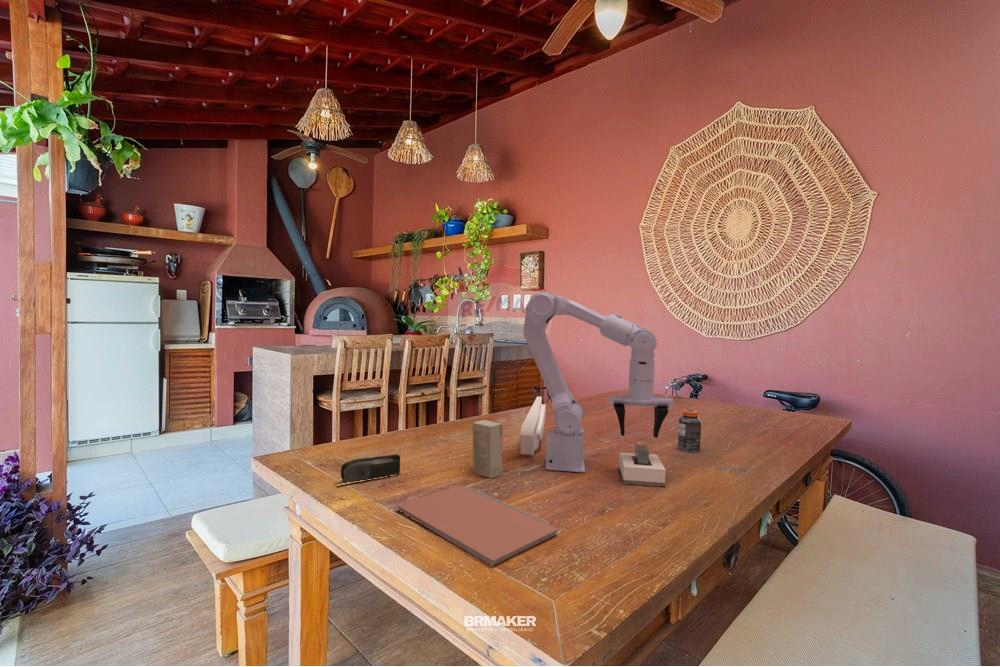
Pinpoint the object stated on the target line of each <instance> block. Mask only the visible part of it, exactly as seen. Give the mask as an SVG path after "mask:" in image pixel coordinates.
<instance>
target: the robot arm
mask: <svg viewBox="0 0 1000 667" xmlns="http://www.w3.org/2000/svg"><path fill="white" fill-rule="evenodd" d="M529 298H530V299H529V301H528V302H527V304H526V306H525V317H524V323H523V329H522V331H523V337H524V339H525V341H526V343H527V346H528V348H529V350H530V352H531V355H532V358H533V360H534V363H535V364H536V366H537V369H538V371H539V373H540V374H539V375H541V378H542V380H543V383H544V385H545V387H546V389H547V393H548V394H549V397H550V400H551V407H552V410H553V413H554V424H555V428H554V429H553V430H552V429H551V430H550V429H549V430H546V440H545V441H546V442H545V444H546V445H545V452H544V461H545V466H544V467H545V470H547V471H558V472H560V471H563V472H573V473H575V472H576V473H585V472H586V468H585V467H586V466H585V461H584V446H585V445H584V444H585V442H584V441H585V440H584V439H585V438H584V436H585V429H584V428H583V427H582V425H581V424H582V421H583V420H584V417H585V411H584V408H583V407H582V405H581V404H580V403H579V402H577V401H576V399H575V397H574V395H573V394H572V392H571V391H570V390H569V387H568V385H567V383H566V380H565V378H564V375H563V373H562V371H561V369H560V366H559V365H558V362H557V359H556V356H555V355H554V353H553V350H552V348H551V346H550V343H549V340H548V338H547V336H546V330H547V328H548V325H549V323H550V321H551V320H552V318H553V317H555V316H567V315H568V316H570V317H573V318H576V319H577V320H580V321H582V322H585V323H587V324H588V325H589V324H590V325H591V326H594V327H596V328H598V329H599V332H600V335H601V336H602V337H605V338H607V339H609V340H611V341H613V342H615V343H617V344H620V345H621V346H624V347H630V348H631V352H630V353H631V354H630V359H629V372H628V375H629V376H628V395H609V396H608V404H609V406H613V408H614V411H615V413H616V416H617V420H618V423H619V428H620V436H625V435H626V434H625V432H626V431H625V418H626V417H625V416H626V407H625V406H634V407H635V406H636V407H639V406H640V407H653V408H654V409H653V411H654V418H653V419H654V421H653V430H652V431H653V438H655V439H658V438H659V434H660V429H661V427H662V424H663V422H664V421H665V419H666V417H667V415H668V414H669V409H673V407H674V404H673V403H674V400H673V399H672V398H666V397H658V396H654V388H655V387H654V386H655V364H656V362H655V356H656V354H655V349H656V348H657V344H658V342H657V338H656V336H655V334H654V333H653V332H652V331H650V330H648V329H647V328H646V327H641V324H639V323H636V324H635V323H633V322H631V321H628V320H627V319H625V318H622V317H623V315H621V314H620V313H617V314H613V313H610V314H607V315H603V314H600V313H598V312H597V311H595V310H593V309H591V308H588V307H587V306H584V305H582V304H580V303H578V302H576V301H574V300H572V299H569V298H567V297H562V296H560V295H559V296H558V295H555V294H553V293H551V292H545V291H539V292H536V293H534V294H532V296H531V297H529Z"/></svg>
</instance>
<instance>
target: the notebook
mask: <svg viewBox="0 0 1000 667" xmlns="http://www.w3.org/2000/svg"><path fill="white" fill-rule="evenodd" d="M395 507H397V510H400V511H402V512H403V513H405V514H407V515H409V516H410V517H412V518H413V519H415V520H417V521H419V524H420V523H421V524H420V525H422V524H423V525H424V526H423V525H422V526H423V527H425V526H426V527H425V528H427V529H428V528H429V530H430V529H431V530H430V531H432V530H433V531H432V532H433V533H435V532H436V534H437V535H439V536H440V537H442V538H444V539H445V540H448V541H449V542H450V543H452V544H454V545H456V546H458V547H460V548H461V549H462V550H464V551H466V552H467V553H469V554H471V555H473V556H475V557H476V558H478V559H479V560H481V561H483V562H484V563H487V565H489V566H490V567H494V566H496V565H498V564H499V563H501V562H503V561H505V560H506V559H509V558H511V557H514V556H515V555H517V554H519V553H521V552H523V551H526V550H527V549H529V548H532V547H534V546H535V545H537V544H540V543H542V542H543V541H546V540H547V539H549V538H551V537H554V536H555V535H557V534H558V531H559V528H557V527H555V526H553V525H552V522H550V521H547V520H545V519H544V518H541V517H538V516H536V515H534V514H532V513H530V512H527V511H524V510H522V509H519V508H517V507H515V506H513V505H512V504H509V503H506V502H503V501H501V500H500V499H496V498H495V497H493V496H490V495H488V494H486V493H483V492H481V491H479V490H477V489H475V488H473V487H470V486H467V487H464V486H462V485H461V484H458V485H455V486H453V487H449V488H447V489H442V490H440V491H437V492H433V493H429V494H427V495H423V496H421V497H418V498H414V499H411V500H408V501H405V502H401V503H398V504H396V505H395ZM403 513H402V514H403ZM410 517H409V518H410ZM413 519H412V520H413ZM415 520H414V521H415ZM495 564H496V565H495Z"/></svg>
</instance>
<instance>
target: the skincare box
mask: <svg viewBox="0 0 1000 667" xmlns="http://www.w3.org/2000/svg"><path fill="white" fill-rule="evenodd" d="M503 428H504V426H503V423H501V422H497V421H491V420H486V419H483V420H478V421H474V422H472V473H474V474H477V475H479V476H483V477H485V478H488V479H493V478H495V477H499V476H501V475H503V474H504V473H503V472H504V470H503V466H504V465H503V464H504V460H503V459H504V458H503V456H504V454H503V451H504V450H503V449H504V448H503V447H504V445H503V444H504V443H503V440H504V438H503V434H504V433H503V430H504V429H503Z"/></svg>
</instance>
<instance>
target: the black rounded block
mask: <svg viewBox="0 0 1000 667" xmlns="http://www.w3.org/2000/svg"><path fill="white" fill-rule="evenodd" d="M400 473H401V456H400V455H399V454H397V453H396V454H388V455H379V456H371V457H361V458H355V459H352V460H349V461H346V462H345V463H343V464H342V466H341V467H340V478H341V479H342V480H341V482H338V483H337V484H341V483H347V482H354V481H360V480H367V479H373V478H379V477H385V476H390V475H395V474H398V475H399V474H400Z"/></svg>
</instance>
